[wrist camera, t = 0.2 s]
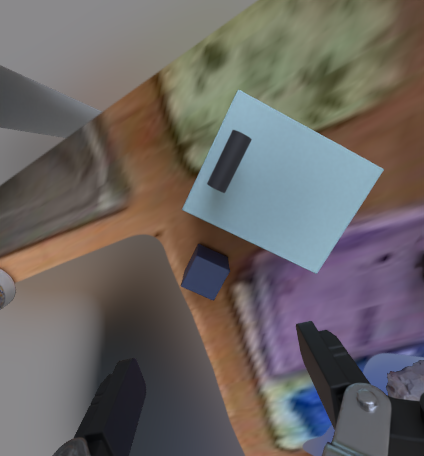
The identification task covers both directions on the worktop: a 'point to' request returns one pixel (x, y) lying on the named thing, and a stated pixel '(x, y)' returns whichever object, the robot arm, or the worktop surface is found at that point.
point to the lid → (279, 184)
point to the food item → (407, 382)
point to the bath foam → (6, 289)
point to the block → (206, 272)
